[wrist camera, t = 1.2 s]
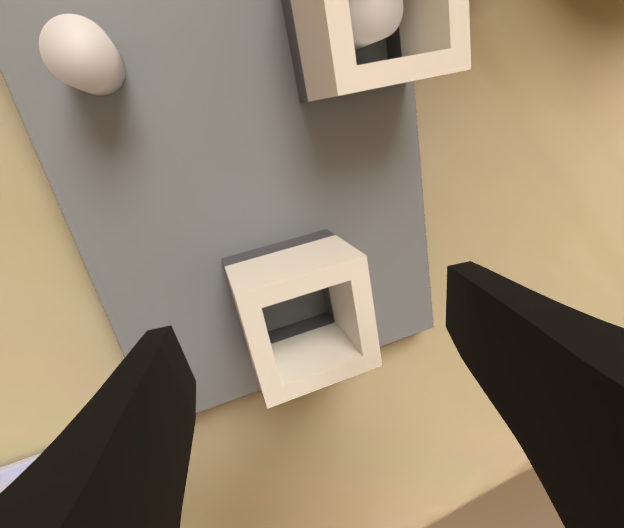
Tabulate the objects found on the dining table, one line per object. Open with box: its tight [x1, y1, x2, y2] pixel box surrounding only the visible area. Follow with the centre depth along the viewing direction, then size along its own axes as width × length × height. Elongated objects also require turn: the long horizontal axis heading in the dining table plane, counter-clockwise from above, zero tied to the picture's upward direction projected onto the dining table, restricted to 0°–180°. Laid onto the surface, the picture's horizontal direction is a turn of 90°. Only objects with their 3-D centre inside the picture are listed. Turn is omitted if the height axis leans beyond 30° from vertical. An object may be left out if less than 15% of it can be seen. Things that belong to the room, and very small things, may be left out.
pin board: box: [0, 0, 434, 413], centre depth 17 cm, size 20×16×4 cm
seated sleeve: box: [281, 0, 471, 103], centre depth 15 cm, size 5×5×4 cm
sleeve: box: [222, 229, 382, 409], centre depth 18 cm, size 5×5×4 cm
